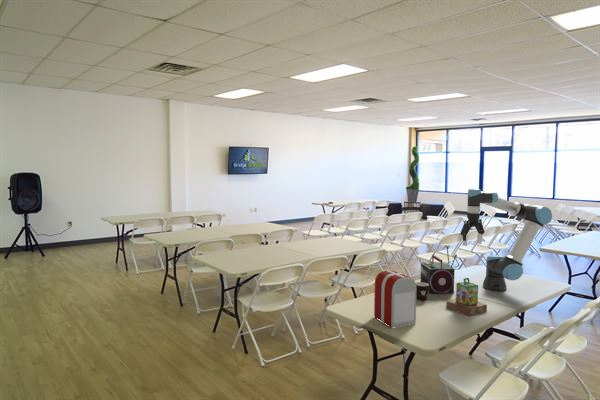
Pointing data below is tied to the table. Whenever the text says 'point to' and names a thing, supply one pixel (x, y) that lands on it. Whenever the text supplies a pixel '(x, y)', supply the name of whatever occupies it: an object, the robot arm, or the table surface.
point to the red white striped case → (395, 298)
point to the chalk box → (466, 292)
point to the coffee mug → (421, 291)
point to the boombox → (438, 276)
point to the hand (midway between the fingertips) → (472, 244)
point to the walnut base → (466, 307)
